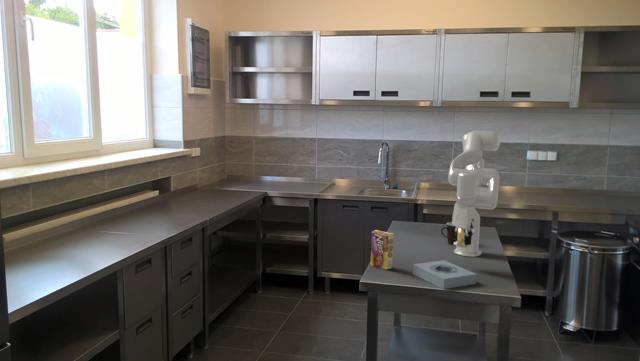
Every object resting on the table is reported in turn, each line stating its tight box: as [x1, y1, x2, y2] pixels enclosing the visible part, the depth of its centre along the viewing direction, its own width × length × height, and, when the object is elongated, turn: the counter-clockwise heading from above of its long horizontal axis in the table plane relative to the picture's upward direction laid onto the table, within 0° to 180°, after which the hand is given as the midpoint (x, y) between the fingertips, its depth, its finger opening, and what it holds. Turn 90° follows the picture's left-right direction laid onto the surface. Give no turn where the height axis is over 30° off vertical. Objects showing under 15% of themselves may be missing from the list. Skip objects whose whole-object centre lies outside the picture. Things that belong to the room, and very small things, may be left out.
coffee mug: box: [440, 221, 456, 246], centre depth 269 cm, size 12×9×10 cm
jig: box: [412, 259, 478, 290], centre depth 213 cm, size 20×16×4 cm
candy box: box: [370, 229, 395, 270], centre depth 226 cm, size 9×4×15 cm, turn 47°
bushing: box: [457, 227, 470, 248], centre depth 226 cm, size 5×5×8 cm
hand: (463, 242), depth 226 cm, fingers closed on bushing, 5 cm apart
